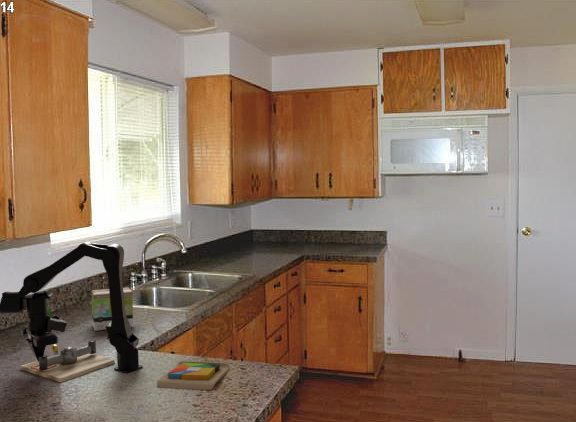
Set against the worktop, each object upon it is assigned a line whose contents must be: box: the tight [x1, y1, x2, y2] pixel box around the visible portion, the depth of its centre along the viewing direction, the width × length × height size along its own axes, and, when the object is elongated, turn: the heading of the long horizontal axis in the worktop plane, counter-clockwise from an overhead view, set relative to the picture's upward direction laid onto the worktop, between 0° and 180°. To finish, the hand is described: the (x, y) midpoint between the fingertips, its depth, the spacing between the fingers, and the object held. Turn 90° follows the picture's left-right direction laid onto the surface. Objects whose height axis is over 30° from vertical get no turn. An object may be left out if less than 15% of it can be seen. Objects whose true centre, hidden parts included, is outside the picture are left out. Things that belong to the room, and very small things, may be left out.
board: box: [20, 353, 116, 383], centre depth 189 cm, size 21×20×1 cm
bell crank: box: [39, 339, 97, 370], centre depth 190 cm, size 11×20×5 cm, turn 145°
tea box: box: [91, 287, 134, 332], centre depth 235 cm, size 15×10×15 cm, turn 114°
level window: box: [31, 364, 57, 371], centre depth 185 cm, size 6×6×1 cm
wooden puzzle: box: [156, 360, 230, 391], centre depth 177 cm, size 18×19×4 cm
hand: (39, 361), depth 183 cm, fingers closed
